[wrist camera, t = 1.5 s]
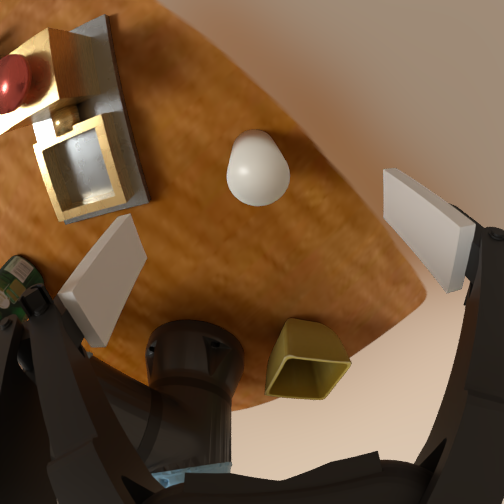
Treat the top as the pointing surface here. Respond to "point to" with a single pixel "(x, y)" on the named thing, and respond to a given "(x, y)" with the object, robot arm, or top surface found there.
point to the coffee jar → (16, 285)
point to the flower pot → (305, 361)
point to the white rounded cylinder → (257, 169)
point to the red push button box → (75, 119)
